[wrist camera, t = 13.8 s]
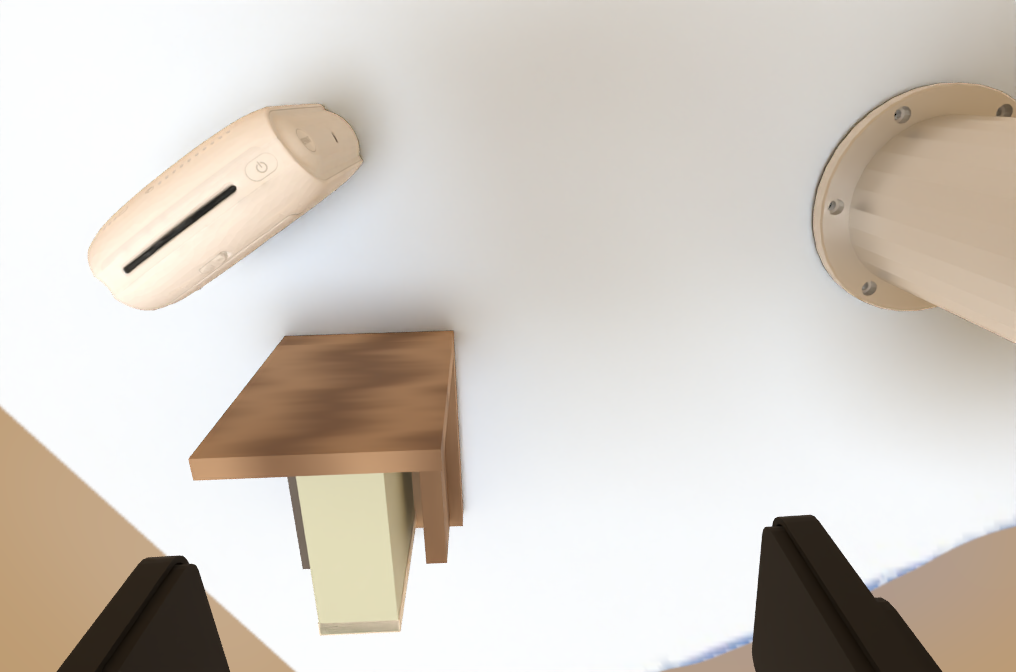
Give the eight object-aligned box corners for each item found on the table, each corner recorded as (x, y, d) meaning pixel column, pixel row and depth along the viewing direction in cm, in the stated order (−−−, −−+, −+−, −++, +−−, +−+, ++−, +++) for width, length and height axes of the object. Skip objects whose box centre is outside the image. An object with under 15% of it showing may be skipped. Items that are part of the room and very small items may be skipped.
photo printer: (327, 89, 33) (246, 89, 22) (378, 159, 35) (328, 195, 23) (180, 202, 35) (33, 258, 24) (235, 264, 36) (121, 346, 25)
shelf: (453, 330, 38) (440, 449, 26) (463, 511, 43) (456, 686, 30) (284, 336, 38) (188, 458, 25) (312, 517, 43) (243, 697, 30)
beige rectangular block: (404, 380, 38) (383, 464, 29) (416, 521, 41) (400, 632, 33) (334, 382, 38) (293, 467, 29) (352, 524, 41) (319, 635, 33)
